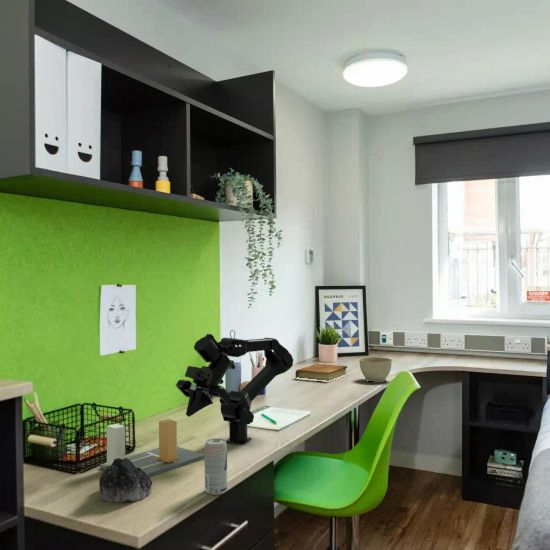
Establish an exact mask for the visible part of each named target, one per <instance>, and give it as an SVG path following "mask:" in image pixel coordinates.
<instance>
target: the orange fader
mask: <svg viewBox="0 0 550 550" xmlns="http://www.w3.org/2000/svg"><path fill="white" fill-rule="evenodd" d="M177 423H178V422H177V420H174V419H168V418H166V419H163V420H158V448H159V457H157V460H161V461H164V462H167V463H169V462H172V461H175V460H178V459H179V457H177V447H178V445H177V444H178V442H177V441H178V439H177V438H178V437H177V436H178V431H177V427H178V425H177Z"/></svg>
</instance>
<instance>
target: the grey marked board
mask: <svg viewBox="0 0 550 550" xmlns="http://www.w3.org/2000/svg"><path fill="white" fill-rule="evenodd" d="M157 457H159V447H156V448H152V449H150V450H147V451H143V452H139V453H135V454H132V455H128V456H125V458H128V459H129V460H130V461H132V462H133V464H134V466H135V467H137V468H140V469H142V470H143V471H145V472H146V474H147V475H148V476H149V477H150V478H151V477H154V476H157V475H159V474H163V473H167V472H169V471H172V470H175V469H178V468H180V467H184V466H187V465H190V464H192V463H195V462H199V461H201V460H205V453H201V452H197V451H194V450H191V449H187V448H183V447H180V446H177V457H179V459H178V460H175V461H172V462H169V463H167V462H164V461H161V460H157ZM105 463H106V462H104V463H99V469H101V470H103V469H104V471H105V470H106V468H107V467H108V466H106V465H105Z"/></svg>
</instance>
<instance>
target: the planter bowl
mask: <svg viewBox="0 0 550 550" xmlns="http://www.w3.org/2000/svg"><path fill="white" fill-rule="evenodd" d="M358 360H359V368H360V372H361V373H362V375H363V377H364V378H365V381H366V380H368V381H374V382H373V383H384V381H385V382H386V379H387V378H388V376H389V375H390V372H391V369H392V363H393V360H392V359H391V358H388V357H380V356H379V357H378V356H377V357H376V356H370V357H368V356H367V357H360V358H359V359H358ZM368 381H367V382H368Z"/></svg>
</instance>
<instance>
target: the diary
mask: <svg viewBox="0 0 550 550" xmlns="http://www.w3.org/2000/svg"><path fill="white" fill-rule="evenodd" d="M347 369H348V365H340V364H339V365H338V364H337V365H336V364H324V363H315V364H312V365H309V366H305V367H301V368H299V369H296V371H295V379H296V378H297V377H299V378H308V379H317V380H327V381H329V380H332V379H334V378H337V377H340V376H342V375H345V374H346V375H347Z"/></svg>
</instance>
